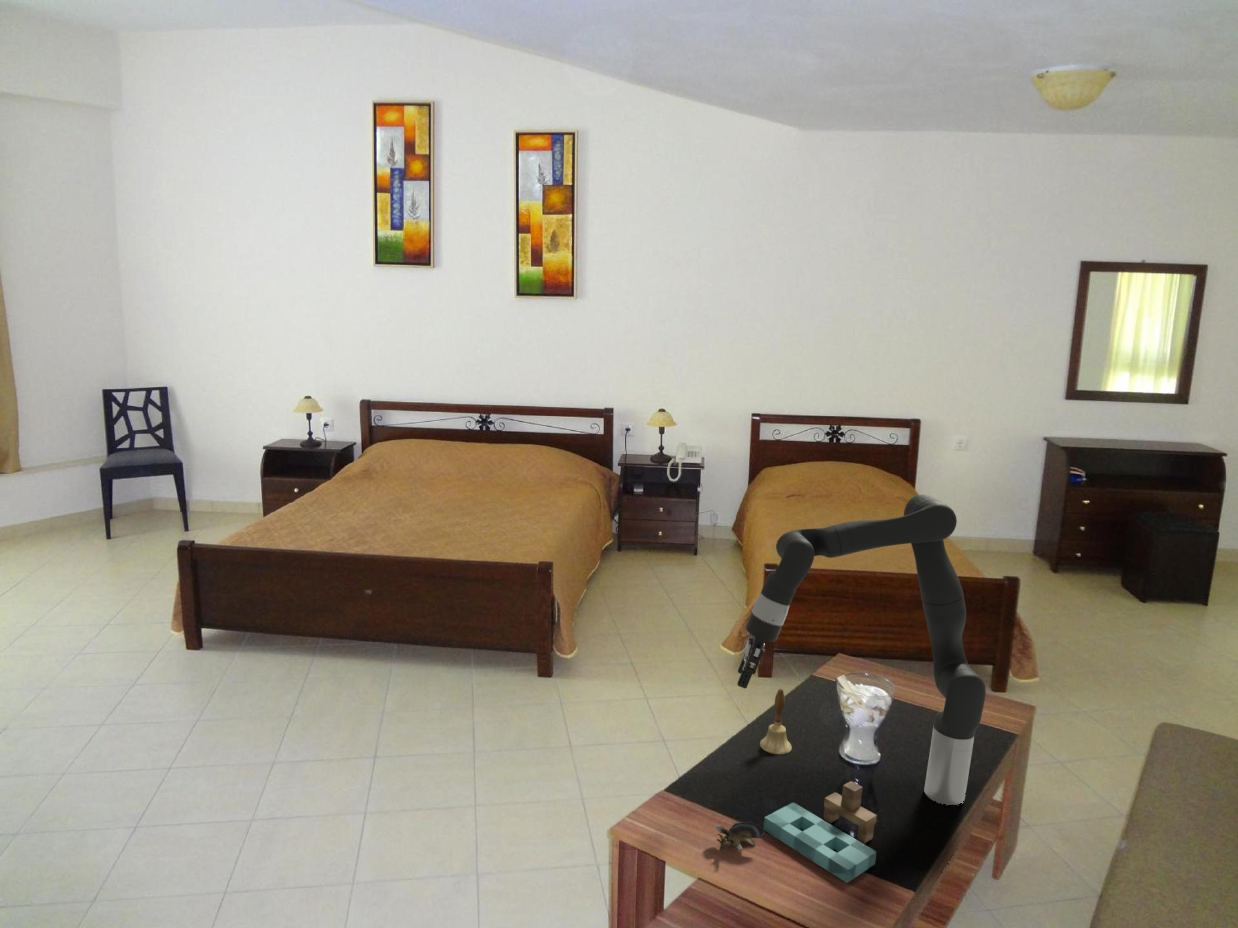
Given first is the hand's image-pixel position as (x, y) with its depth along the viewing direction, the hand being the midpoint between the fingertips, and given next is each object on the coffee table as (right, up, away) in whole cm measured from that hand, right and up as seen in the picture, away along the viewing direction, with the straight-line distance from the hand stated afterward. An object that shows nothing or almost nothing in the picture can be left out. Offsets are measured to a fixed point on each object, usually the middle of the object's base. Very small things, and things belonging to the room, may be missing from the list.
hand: (741, 679), depth 203 cm
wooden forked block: (+23, -32, -5) cm, 40 cm away
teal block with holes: (+15, -33, -12) cm, 38 cm away
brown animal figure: (-3, -33, -14) cm, 36 cm away
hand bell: (+13, -25, +29) cm, 41 cm away
